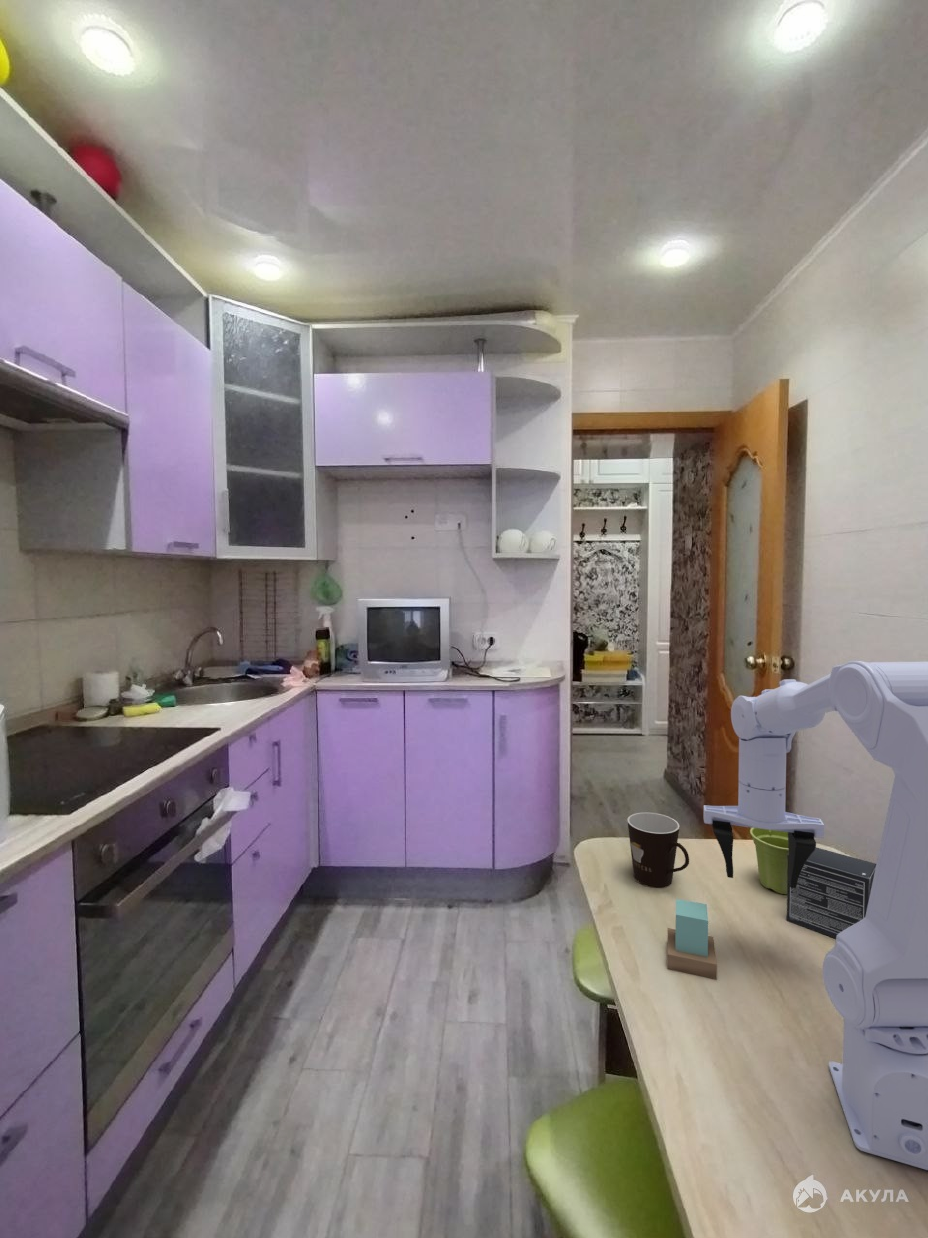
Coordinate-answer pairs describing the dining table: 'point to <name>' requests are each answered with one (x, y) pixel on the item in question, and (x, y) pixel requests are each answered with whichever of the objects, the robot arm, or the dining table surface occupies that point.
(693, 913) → the teal brick
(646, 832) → the coffee mug
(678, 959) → the base brick
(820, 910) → the small box
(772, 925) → the dining table surface
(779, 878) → the plant pot
